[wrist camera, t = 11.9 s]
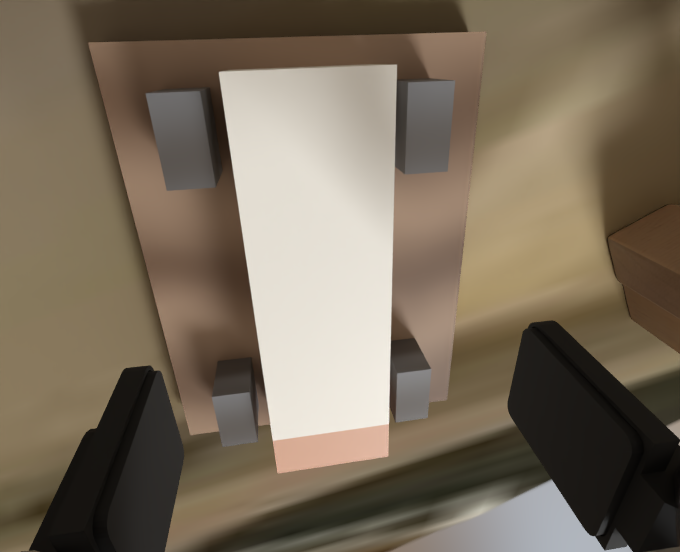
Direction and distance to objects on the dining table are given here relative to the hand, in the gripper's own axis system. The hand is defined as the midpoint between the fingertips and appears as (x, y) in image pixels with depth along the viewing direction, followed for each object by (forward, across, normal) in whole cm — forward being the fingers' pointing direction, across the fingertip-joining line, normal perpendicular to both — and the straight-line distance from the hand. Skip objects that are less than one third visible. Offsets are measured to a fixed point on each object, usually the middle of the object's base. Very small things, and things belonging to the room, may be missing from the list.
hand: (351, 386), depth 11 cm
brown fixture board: (+10, 0, +1) cm, 10 cm away
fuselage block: (+9, 0, +1) cm, 9 cm away
